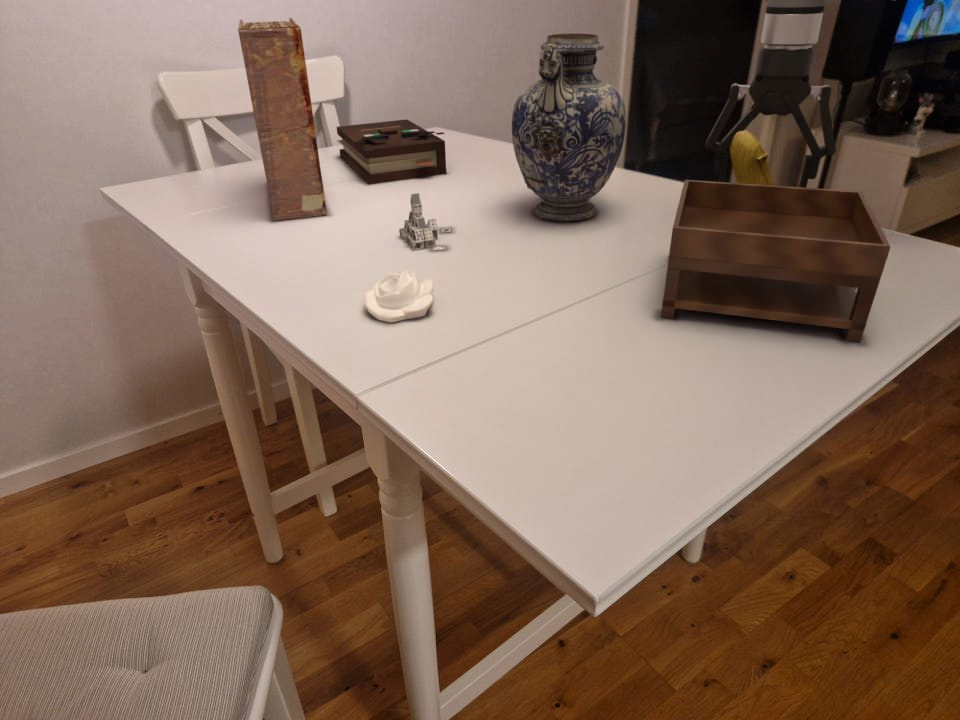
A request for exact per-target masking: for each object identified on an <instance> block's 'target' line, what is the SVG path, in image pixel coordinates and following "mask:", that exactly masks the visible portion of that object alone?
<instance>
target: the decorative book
mask: <svg viewBox="0 0 960 720" xmlns="http://www.w3.org/2000/svg"><path fill="white" fill-rule="evenodd" d="M336 134H337V136H339V138H341V139H337V140H336V142H337V143H339V144H340V145H341V146H342V147H343V148H341V149H338V150H339V157H340V158H341V159H342V160H343V161H344V162H345V163H346V164H347V165H348V166H349V167H350V168H351V169H352V170H353V171H354V172H355V173H356V174H357V175H358V176H359V177H360V178H361V179H363V180H364V181H365V182H366V184H368V185H375V184H381V183H389V182H397V181H403V180H411V179H412V180H413V179H419V178H426V177H427V178H428V177H433V176H440V175H446V174H447V157H446V140H445V139H443V138H440V137H439V136H438V135H446V133H445V132H442V131H441V132H435V131H428V130H427V129H425V128H423V127H421V126H419V125H418V124H415V123H414V122H413V121H410V120H409V119H398V120H397V119H396V120H388V121H377V122H368V123H359V124H358V123H357V124H351V125H349V124H348V125H340V126H339V125H338V126H336ZM435 134H436V135H435Z"/></svg>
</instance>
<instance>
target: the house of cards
mask: <svg viewBox="0 0 960 720" xmlns="http://www.w3.org/2000/svg"><path fill="white" fill-rule="evenodd" d="M409 200H410V210H411V211H408V212H409V213H408V219H405V220H404V224H403V225H404V226H403V227H402V228H399V229H398V233H399V237H401V238H402V239H403V240H404V241H405V243H406V244H408V245H409V246H410V247H411V248H412V251H418V250H424V249H428V248H432V250H433V251H442V250H446V248H445V246H437V241H438V240H439V235H438V233H439V232H438V230H439V226H438V222H437V218H436V217H435V218H429V219H427V224H426V221H425V217H424V215H423V205H422V204H423V203H422V200H421V195H420V192H417V193H410V199H409ZM442 233H451V228H450V227H449V228H448V227H447V228H442Z"/></svg>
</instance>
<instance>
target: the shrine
mask: <svg viewBox="0 0 960 720" xmlns="http://www.w3.org/2000/svg"><path fill="white" fill-rule="evenodd" d="M736 124H737V125H738V124H739V123H738V122H736ZM728 152H729V159H730V164H731V166H732V171H733V174H734V177H735V180H736V183H742V184H757V185H772V186H775V184H774V181H773V177H772V175H771V171H770V169H769V164H768V163H769V162H768V159H769V157H768V156H769V153H767V152H766V151H765V149H764V148H763V146H762V144H761V142H760V141H759V140H758V138H757V137H756V136H755V135H754V134H753V132H750V130H749V129H747V128H745V130H744V131H740V132H737V133H736V134H735V136H734V137H733V140H732V144H731V145H730V146H729V147H728ZM765 152H766V153H765Z"/></svg>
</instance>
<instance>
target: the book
mask: <svg viewBox="0 0 960 720" xmlns="http://www.w3.org/2000/svg"><path fill="white" fill-rule="evenodd" d="M288 19H289V20H281V21H280V20H279V21H277V20H276V21H255V22H253V21H252V22H244V21H243V19H239V23H238V27H237V31H238V38H239V41H240V47H241V53H242V58H243V63H244V68H245V74H246V79H247V85H248V90H249V95H250V101H251V106H252V111H253V112H252V113H253V116H254V122H255V127H256V133H257V137H258V142H259V148H260V153H261V159H262V164H263V170H264V174H265V175H264V176H265V180H266V186H267V191H268V196H269V201H270V202H269V203H270V206H271V212H272V218H273V221H274V222H275V221H283V220H293V219H300V218H301V219H302V218H311V217H319V216H327V215H328V213H327V212H328V211H327V204H326V198H325V191H324V184H323V177H322V169H321V163H320V156H319V149H318V148H319V147H318V141H317V133H316V127H315V119H314V112H313V106H312V98H311V92H310V85H309V78H308V70H307V69H308V68H307V64H306V63H307V62H306V57H305V56H306V55H305V49H304V41H303V35H302V29H301V26H299V24H298V23H297V22H296V21H295V20H294V19H293V17H289V18H288Z"/></svg>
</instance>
